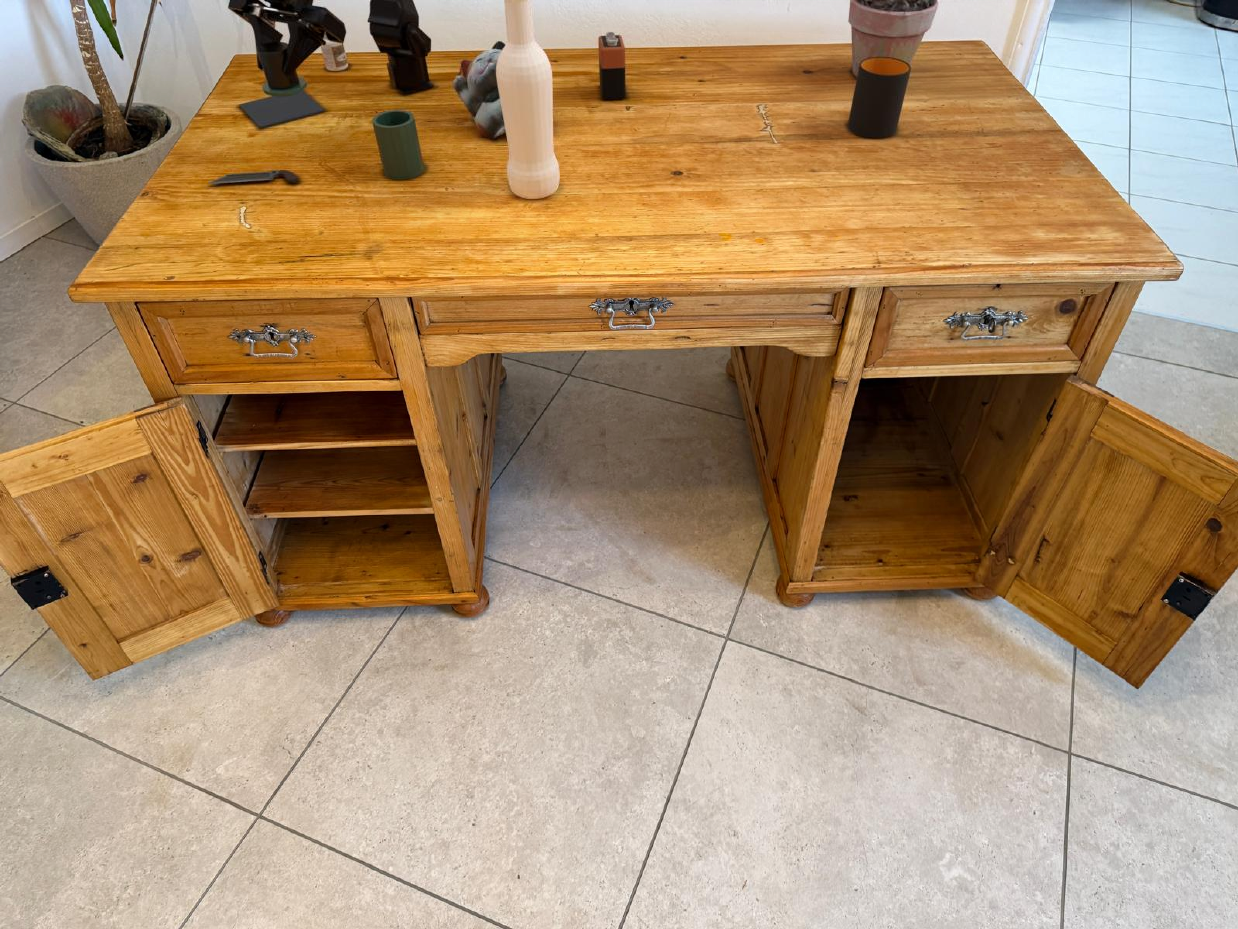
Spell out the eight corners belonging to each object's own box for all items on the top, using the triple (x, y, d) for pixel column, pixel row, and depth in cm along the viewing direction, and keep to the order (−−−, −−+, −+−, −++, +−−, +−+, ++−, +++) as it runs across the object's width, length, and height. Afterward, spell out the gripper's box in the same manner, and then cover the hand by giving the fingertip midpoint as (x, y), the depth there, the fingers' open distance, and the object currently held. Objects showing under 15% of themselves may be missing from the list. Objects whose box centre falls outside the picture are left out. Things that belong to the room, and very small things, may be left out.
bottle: (509, 177, 129) (484, -36, 108) (559, 174, 130) (545, -38, 108) (508, 202, 124) (482, -17, 102) (561, 199, 124) (546, -20, 103)
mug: (874, 107, 146) (887, 46, 138) (904, 135, 138) (920, 72, 130) (831, 112, 145) (842, 50, 137) (859, 140, 137) (872, 77, 129)
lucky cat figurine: (478, 146, 137) (440, 61, 131) (480, 144, 148) (445, 66, 142) (559, 110, 136) (524, 23, 131) (555, 111, 147) (522, 31, 142)
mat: (301, 90, 155) (301, 88, 154) (324, 111, 148) (324, 109, 148) (239, 106, 150) (238, 104, 150) (260, 128, 143) (259, 126, 143)
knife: (301, 171, 131) (300, 167, 131) (297, 183, 129) (296, 179, 128) (213, 177, 130) (211, 173, 130) (207, 189, 128) (205, 185, 127)
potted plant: (837, 49, 166) (862, -96, 147) (934, 64, 159) (972, -85, 141) (810, 81, 154) (834, -72, 136) (913, 98, 148) (952, -59, 130)
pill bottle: (343, 72, 161) (332, 30, 155) (322, 70, 161) (311, 29, 156) (352, 64, 164) (342, 22, 158) (332, 62, 164) (321, 21, 159)
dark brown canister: (312, 82, 132) (300, 38, 127) (302, 99, 127) (289, 54, 122) (270, 83, 132) (256, 39, 127) (259, 100, 127) (244, 55, 122)
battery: (602, 100, 150) (600, 43, 142) (599, 86, 154) (597, 29, 147) (625, 99, 150) (625, 41, 143) (622, 85, 154) (621, 28, 147)
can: (413, 157, 135) (403, 106, 129) (430, 172, 131) (420, 120, 125) (378, 168, 132) (365, 116, 126) (394, 183, 129) (382, 130, 122)
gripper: (213, -68, 120) (186, 36, 121) (311, -55, 114) (282, 55, 115) (268, -24, 130) (243, 72, 132) (360, -9, 125) (333, 90, 126)
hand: (273, 71), depth 126 cm, fingers closed on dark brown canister, 5 cm apart
